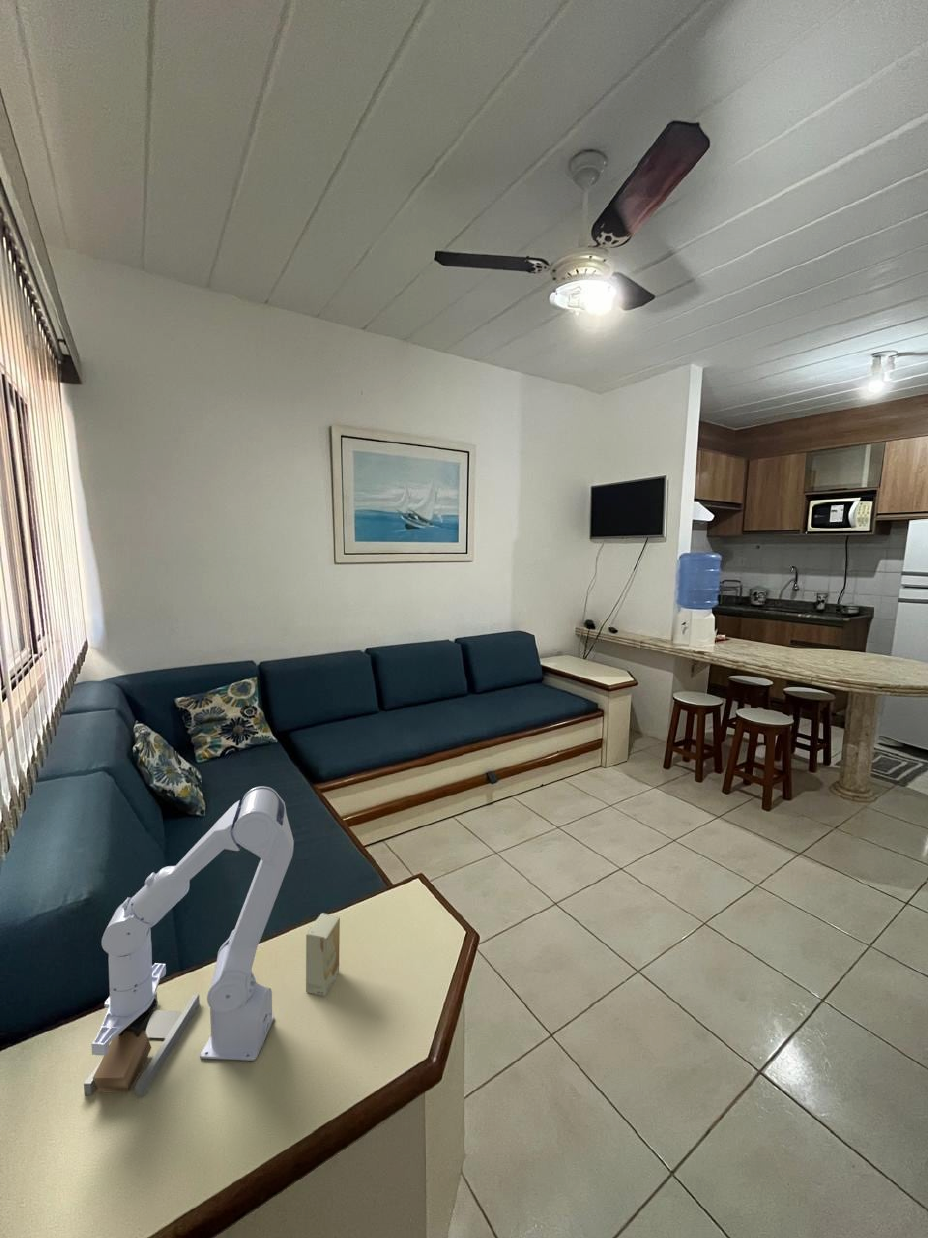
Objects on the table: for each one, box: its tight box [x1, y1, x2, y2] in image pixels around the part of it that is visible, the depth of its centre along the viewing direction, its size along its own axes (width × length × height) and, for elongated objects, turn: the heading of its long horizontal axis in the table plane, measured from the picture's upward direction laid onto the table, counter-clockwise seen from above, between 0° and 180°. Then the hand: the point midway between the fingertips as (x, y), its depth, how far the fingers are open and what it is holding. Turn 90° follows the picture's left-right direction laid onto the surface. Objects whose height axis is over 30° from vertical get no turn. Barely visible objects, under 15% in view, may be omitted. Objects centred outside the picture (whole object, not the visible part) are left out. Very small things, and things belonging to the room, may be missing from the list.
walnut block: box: [93, 1031, 152, 1093], centre depth 78 cm, size 4×6×5 cm
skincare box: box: [305, 912, 341, 997], centre depth 96 cm, size 6×4×12 cm
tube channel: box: [83, 991, 201, 1098], centre depth 83 cm, size 9×16×2 cm, turn 179°
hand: (133, 1049), depth 80 cm, fingers closed, pressing on walnut block
